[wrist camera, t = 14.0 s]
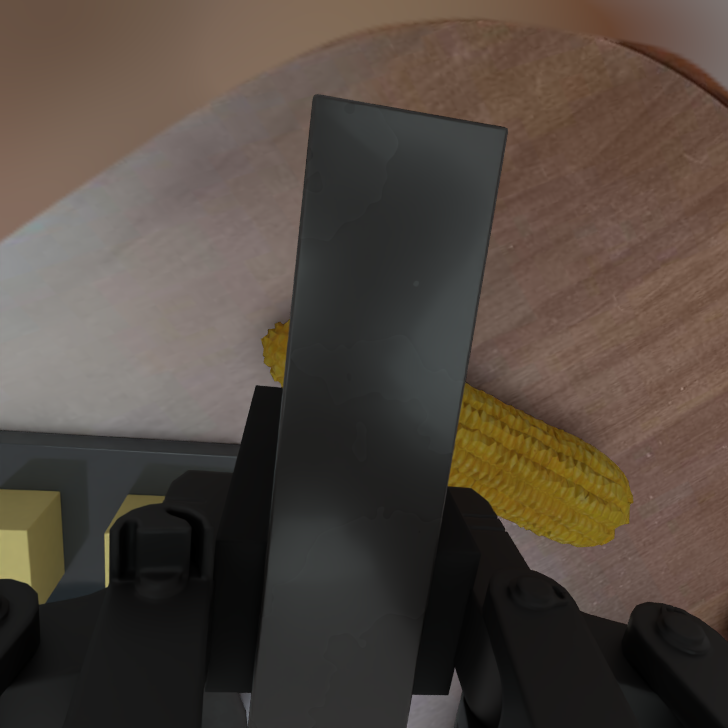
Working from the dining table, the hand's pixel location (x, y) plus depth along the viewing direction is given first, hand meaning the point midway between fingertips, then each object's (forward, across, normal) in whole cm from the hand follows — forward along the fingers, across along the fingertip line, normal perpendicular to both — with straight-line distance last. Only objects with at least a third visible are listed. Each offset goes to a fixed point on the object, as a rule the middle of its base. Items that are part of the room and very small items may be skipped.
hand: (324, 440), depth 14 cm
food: (+15, +8, -4) cm, 17 cm away
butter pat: (+13, -13, -12) cm, 22 cm away
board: (+14, -10, -12) cm, 22 cm away
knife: (0, 0, -5) cm, 5 cm away
